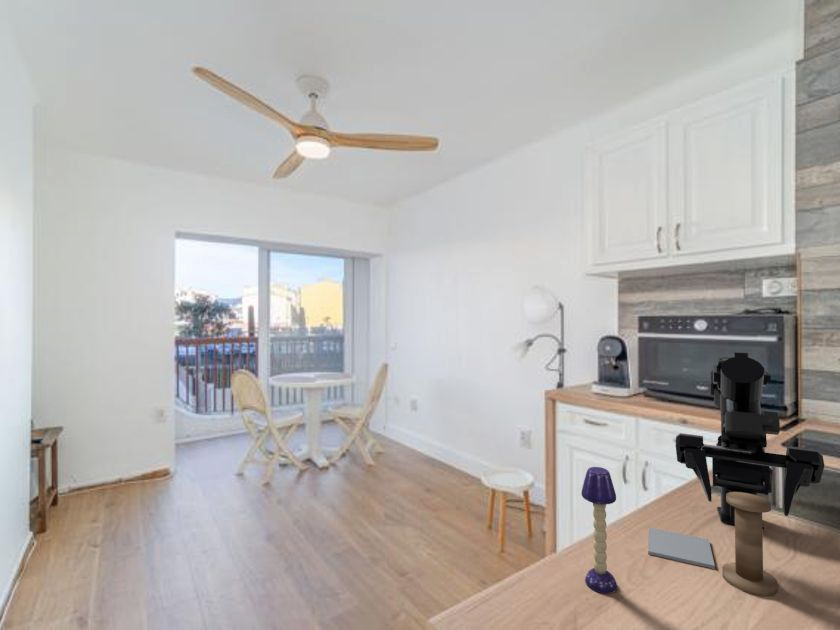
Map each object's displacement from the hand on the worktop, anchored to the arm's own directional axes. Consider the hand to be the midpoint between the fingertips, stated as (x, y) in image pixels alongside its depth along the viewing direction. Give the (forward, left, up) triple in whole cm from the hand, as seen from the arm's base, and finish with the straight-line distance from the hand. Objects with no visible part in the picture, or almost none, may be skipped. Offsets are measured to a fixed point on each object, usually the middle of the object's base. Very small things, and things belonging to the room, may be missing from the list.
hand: (746, 507), depth 65 cm
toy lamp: (+14, -19, -10) cm, 26 cm away
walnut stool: (+3, 0, -10) cm, 10 cm away
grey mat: (-3, -9, -10) cm, 14 cm away
